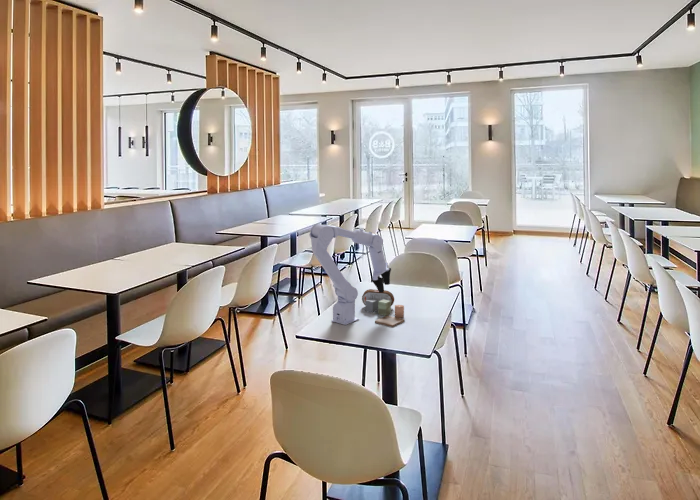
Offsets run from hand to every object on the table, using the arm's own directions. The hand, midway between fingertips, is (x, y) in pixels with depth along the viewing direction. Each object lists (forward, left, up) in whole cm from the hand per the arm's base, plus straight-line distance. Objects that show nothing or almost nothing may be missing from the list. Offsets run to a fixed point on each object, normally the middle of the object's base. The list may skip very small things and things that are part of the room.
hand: (384, 288), depth 213 cm
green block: (-1, -1, -12) cm, 12 cm away
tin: (+5, +7, -12) cm, 15 cm away
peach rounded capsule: (-1, -8, -12) cm, 14 cm away
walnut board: (-9, -9, -11) cm, 17 cm away
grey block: (-1, +7, -12) cm, 13 cm away
